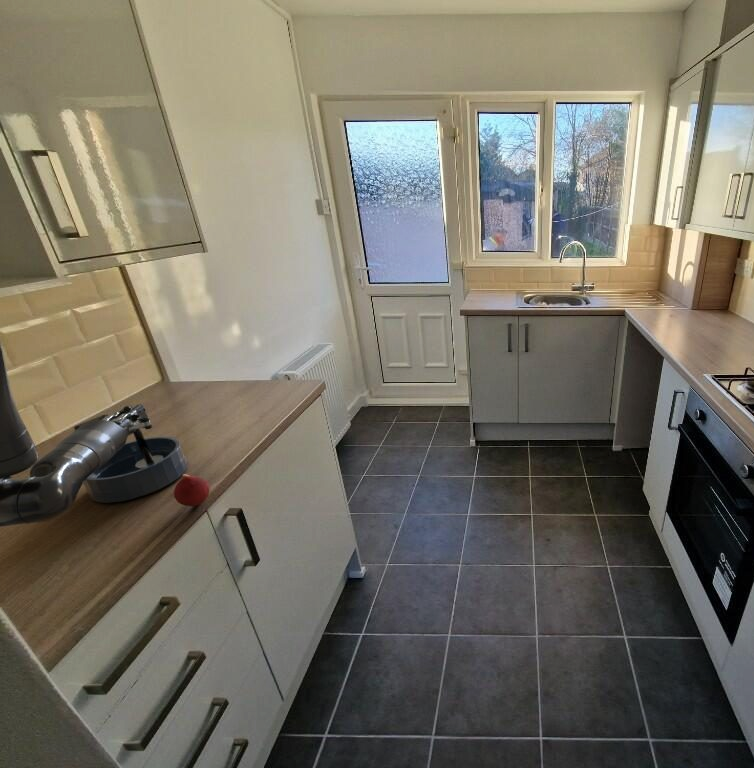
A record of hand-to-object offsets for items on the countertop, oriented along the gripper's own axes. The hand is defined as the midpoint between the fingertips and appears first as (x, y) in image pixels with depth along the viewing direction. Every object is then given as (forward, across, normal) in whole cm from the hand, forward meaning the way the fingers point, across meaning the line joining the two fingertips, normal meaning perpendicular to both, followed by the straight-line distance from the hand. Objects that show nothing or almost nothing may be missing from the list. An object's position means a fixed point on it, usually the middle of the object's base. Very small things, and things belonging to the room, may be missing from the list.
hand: (136, 408), depth 94 cm
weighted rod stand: (-3, 0, +15) cm, 15 cm away
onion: (-19, -14, +16) cm, 28 cm away
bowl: (-4, +2, +16) cm, 17 cm away
